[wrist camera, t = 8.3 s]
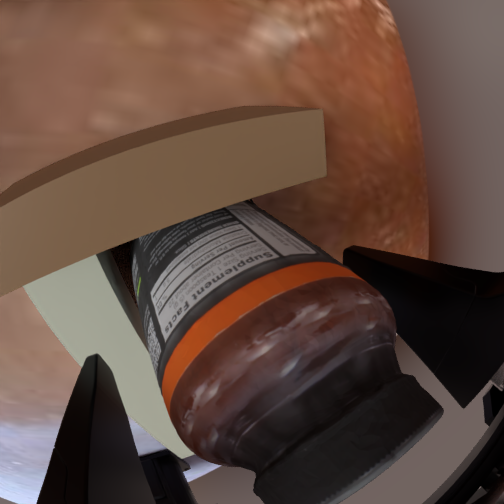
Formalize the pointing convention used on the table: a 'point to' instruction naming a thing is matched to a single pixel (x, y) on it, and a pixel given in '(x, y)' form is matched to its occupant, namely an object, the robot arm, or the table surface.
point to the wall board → (140, 226)
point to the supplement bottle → (275, 356)
